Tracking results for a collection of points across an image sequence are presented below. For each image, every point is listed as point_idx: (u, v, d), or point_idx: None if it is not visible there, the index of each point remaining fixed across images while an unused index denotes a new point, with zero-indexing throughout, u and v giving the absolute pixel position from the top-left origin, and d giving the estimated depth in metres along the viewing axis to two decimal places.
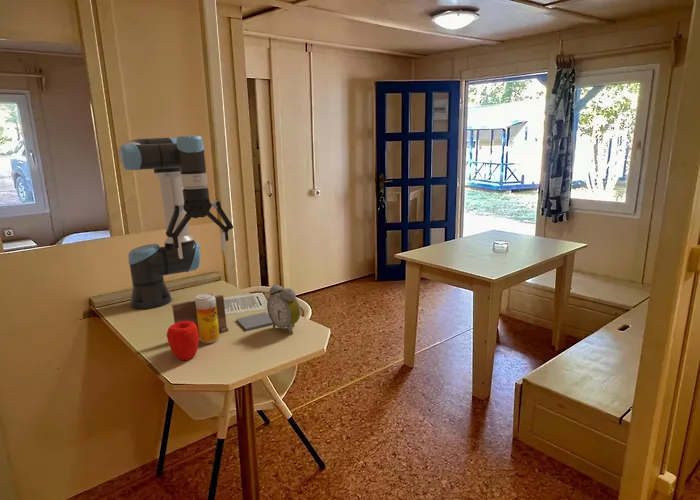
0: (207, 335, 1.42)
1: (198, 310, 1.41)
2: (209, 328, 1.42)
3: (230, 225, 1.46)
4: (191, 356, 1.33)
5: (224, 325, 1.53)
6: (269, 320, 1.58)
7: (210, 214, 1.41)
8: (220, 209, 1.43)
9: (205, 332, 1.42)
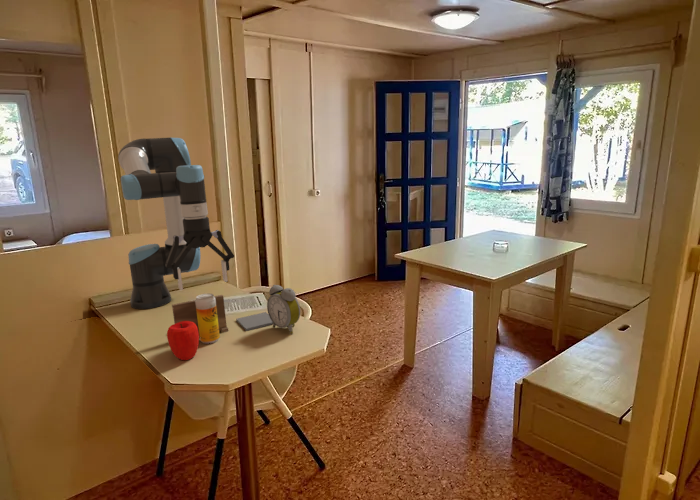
0: (207, 335, 1.42)
1: (198, 310, 1.41)
2: (209, 328, 1.42)
3: (231, 254, 1.43)
4: (191, 356, 1.33)
5: (224, 325, 1.53)
6: (269, 320, 1.58)
7: (210, 244, 1.38)
8: (221, 238, 1.40)
9: (205, 332, 1.42)
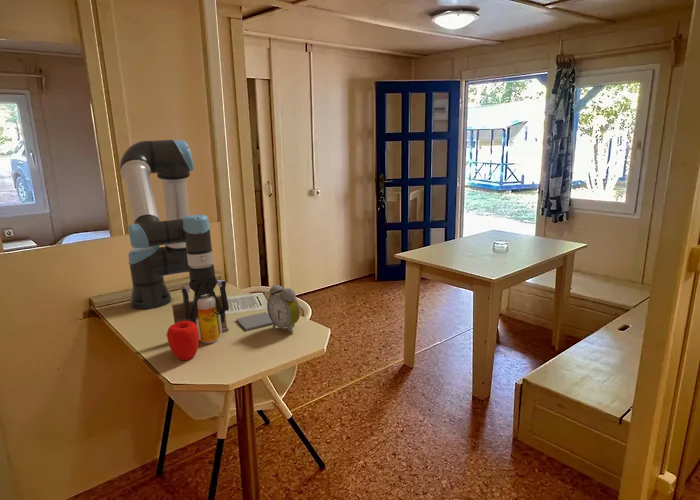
0: (207, 335, 1.42)
1: (198, 310, 1.41)
2: (209, 328, 1.42)
3: (226, 307, 1.45)
4: (191, 356, 1.33)
5: (224, 325, 1.53)
6: (269, 320, 1.58)
7: (213, 293, 1.42)
8: (223, 289, 1.44)
9: (205, 332, 1.42)
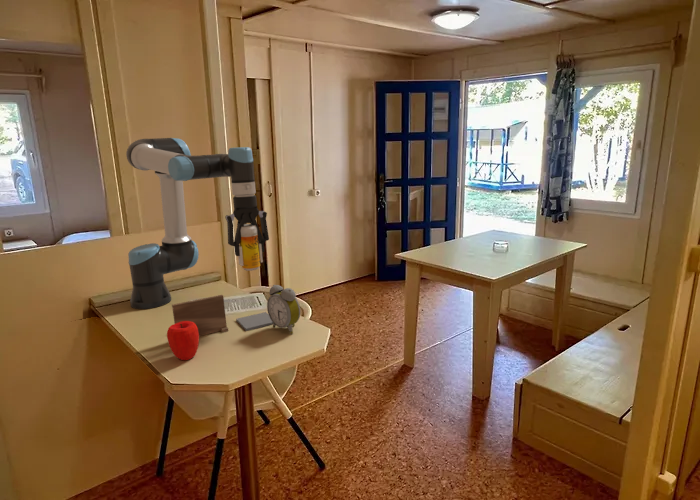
0: (249, 262, 1.51)
1: (241, 238, 1.50)
2: (251, 255, 1.51)
3: (267, 237, 1.54)
4: (191, 356, 1.33)
5: (224, 325, 1.53)
6: (269, 320, 1.58)
7: (255, 222, 1.51)
8: (264, 219, 1.53)
9: (248, 259, 1.51)
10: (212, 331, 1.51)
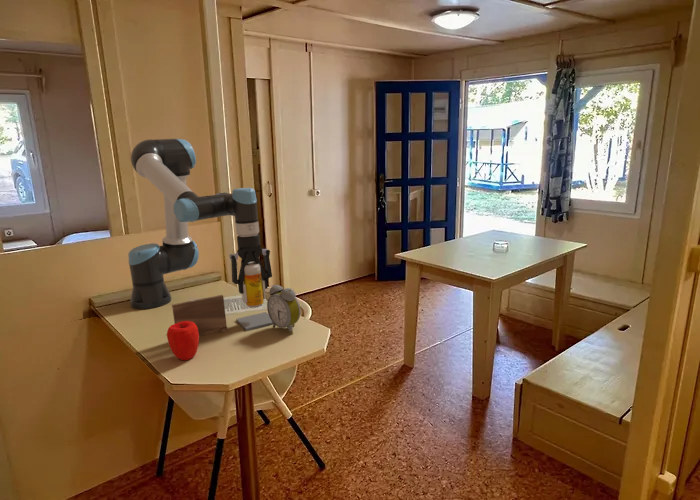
0: (253, 299, 1.54)
1: (245, 276, 1.53)
2: (255, 292, 1.54)
3: (270, 274, 1.57)
4: (191, 356, 1.33)
5: (224, 325, 1.53)
6: (269, 320, 1.58)
7: (258, 260, 1.54)
8: (267, 257, 1.56)
9: (251, 297, 1.54)
10: (212, 331, 1.51)
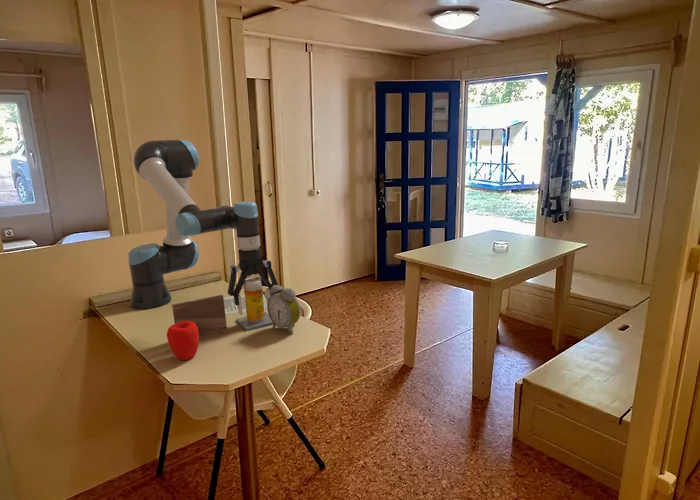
0: (254, 314, 1.55)
1: (246, 292, 1.54)
2: (256, 308, 1.55)
3: (275, 283, 1.59)
4: (191, 356, 1.33)
5: (224, 325, 1.53)
6: (269, 320, 1.58)
7: (261, 272, 1.55)
8: (270, 268, 1.57)
9: (253, 312, 1.55)
10: (212, 331, 1.51)
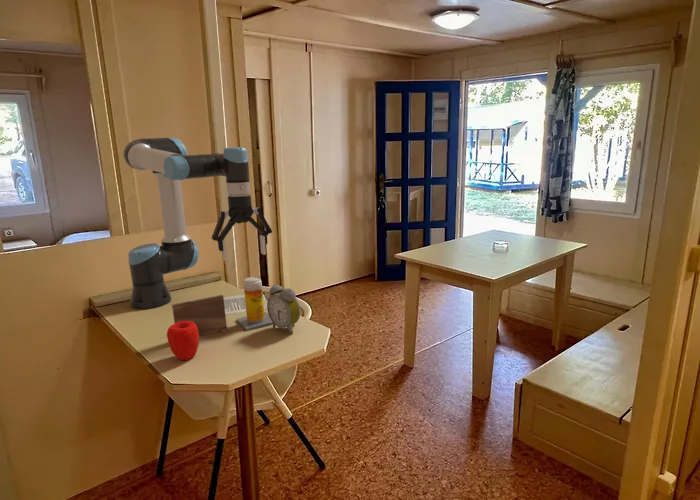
0: (254, 314, 1.55)
1: (246, 292, 1.54)
2: (256, 308, 1.55)
3: (269, 230, 1.57)
4: (191, 356, 1.33)
5: (224, 325, 1.53)
6: (269, 320, 1.58)
7: (252, 219, 1.53)
8: (261, 215, 1.54)
9: (253, 312, 1.55)
10: (212, 331, 1.51)
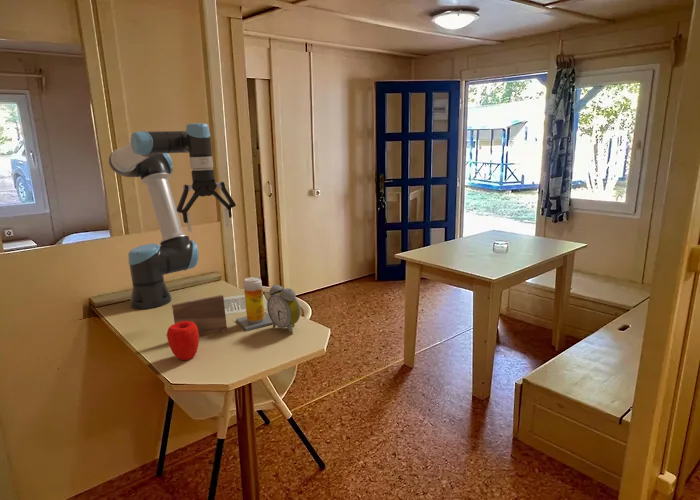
0: (254, 314, 1.55)
1: (246, 292, 1.54)
2: (256, 308, 1.55)
3: (233, 203, 1.65)
4: (191, 356, 1.33)
5: (224, 325, 1.53)
6: (269, 320, 1.58)
7: (215, 193, 1.60)
8: (224, 189, 1.62)
9: (253, 312, 1.55)
10: (212, 331, 1.51)
